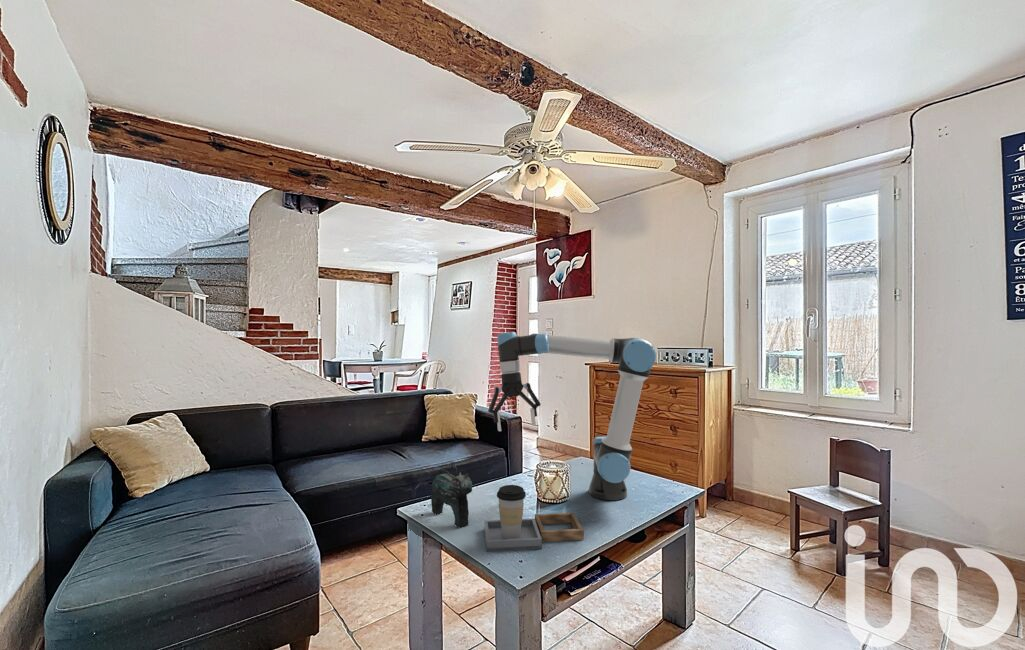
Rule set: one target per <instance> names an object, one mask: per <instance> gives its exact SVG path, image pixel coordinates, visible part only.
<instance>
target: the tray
mask: <svg viewBox="0 0 1025 650" xmlns="http://www.w3.org/2000/svg"><path fill="white" fill-rule="evenodd" d="M483 525H484V527H483V528H484V530H485V531H484V540H485V550H486V552H505V551H507V552H509V551H525V550H542V547H543V545H542V543H543V542H542V538H541V536H540V533H539V530H538V527H537V524H536V522H535V518H522V522H521V532H520V537H519V538H518V539H504V538H503V537H502V529H501V522H500V519H491V520H490V519H488V520H484V523H483Z"/></svg>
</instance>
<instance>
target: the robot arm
mask: <svg viewBox="0 0 1025 650" xmlns="http://www.w3.org/2000/svg"><path fill="white" fill-rule="evenodd" d="M517 335H518V334H517V333H516V332H515V331H509V332H508V331H506V332H500V333H498V335H497V336H496V337H497V350H498V358H499V367H500V373H501V375H500V376H501V377H500V378H501V385H502V386H501V387H497V386H495V387H494V390H493V396H492V399H491V401H490V404H489V407H488V411H487V412H488V413H490V414H493V422H494V423H496V424H497V425H496V426H497V431H498V432H502V425H501V416H500V413H499V411H500V409H502V407H503V405H504V403H505V402H506V400H507V399H508V398H513V397H519V396H520V397H521V398H522V399H523V400H524V401H525V402H526V403H527V404H528V405H529V406H530V407H531V408H529V409H530V410H529V411H530V419H531V425H532V427H537V424H536V417H538V412H537V408H538V407H541V402H540V400H539V399H538V397H537V396H536V394H535V393H534V391H533V390H532V387H531V383H529V382H526V383H523V382H522V374H521V366H520V358H519V357H521V356H528V355H529V356H530V355H541V354H550V355H551V354H552V355H562V356H570V357H571V356H573V357H583V358H592V359H593V358H595V359H603V360H608V361H609V362H610V363H616V364H617V363H618V367H617V372H618V373H619V375H620V377H619V382H618V384H617V385H618V386H617V389H616V394H615V399H614V402H613V406H612V407H613V408H612V412H611V415H610V420H609V425H608V428H607V429H608V430H607V433H606V434H607V435H605V436H595V437H594V439H593V444H592V445H593V474H592V477H591V481H590V483H589V487H588V493H589V494H590V496H592V497H593V498H595V497H596V499H598V498H599V500H602V499H604V500H603V501H620V500H619V499H621V500H623V498H624V499H626V498H627V496H628V488H627V485H626V481H625V480H627V478H628V477H629V475H630V473H631V462H630V460H631V457H632V452H633V447H632V446H631V437H632V433H633V428H634V424H635V419H636V415H637V411H638V408H639V407H638V406H639V402H640V399H641V393H642V389H643V385H644V382H645V381H646V380H648V379H649V378H650V373H651V369H652V368H653V366H654V365H655V364H656V359H657V353H656V349H655V348H654V345H652V343H650V342H649V341H648V340H646V339H643V338H638V337H630V338H613V337H612V338H611V339H610V340H607V339H598V338H596V339H595V338H585V337H575V336H573V337H572V336H562V335H550V334H549V335H548V334H547V333H531V334H529V335H528V334H527V335H523V336H522V335H521V336H517ZM523 389H525V390H526V391H527V393H528V394H529V396H530V398H531V399H532V400H531V399H530V398H529V397H528V396H527V395H526V394H525V393H524V392H523ZM501 391H502V392H503V393H502V394H503V395H502V396H501V398H500V399H499V401H498V396H499V395H500V393H501ZM497 401H498V402H497ZM496 403H497V404H496Z"/></svg>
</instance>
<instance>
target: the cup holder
mask: <svg viewBox="0 0 1025 650" xmlns="http://www.w3.org/2000/svg"><path fill="white" fill-rule="evenodd" d="M534 519H535V522H536V524H537V527H538V530H539V533H540V536H541V538H542V543H543V541H545V542H561V541H563V540H564V541H565V540H566V541H583V540H585V537H584V534H585V533H584V528H583V527H582V524H581V523H580V522H579V519H578V518H577V516H576V515H575V513H574V512H560V513H558V512H557V513H554V512H552V513H539V514H538V513H535V514H534ZM554 523H555V524H570V525H571V526H572V528H568V529H564V528H563V529H547V530H545V529H544V527H543V525H550V524H552V525H553V524H554ZM555 524H554V525H555ZM573 527H574V528H573ZM564 541H563V542H564Z"/></svg>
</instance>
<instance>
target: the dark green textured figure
mask: <svg viewBox="0 0 1025 650" xmlns="http://www.w3.org/2000/svg"><path fill="white" fill-rule="evenodd" d="M453 466H454V467H455V475H453V474H451V473H450V472H449V471H448V470H446V469H440V470H438V472H437V473H436V477H435V478H434V479H433V481H432V486H431V487H432V488H431V494H430V503H431V512H433V513H434V515H435V514H436V516H438V515H441V514H440V513H442V514H443V510H444V505H446V506H447V505H448V506H450V508H451V510H452V513H453V515H454V526H455V525H456V526H455V527H458V528H459V527H460V528H459V529H463V528H465V527H467V525H468V526H469V514H470V513H469V502H468V495H469V494H470V493H472V492H473V483H472V480H471V478H470V477H469V473H465V475H464V474H463V475H462V472H461V471H460V472H459V473H457V472H458V471H457V466H456V464H455V463H452V464H451V465H450V467H451V468H452V467H453ZM440 472H441V473H442V472H446V473H442V474H440ZM433 513H432V514H433ZM437 514H438V515H437ZM462 527H463V528H462Z"/></svg>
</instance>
